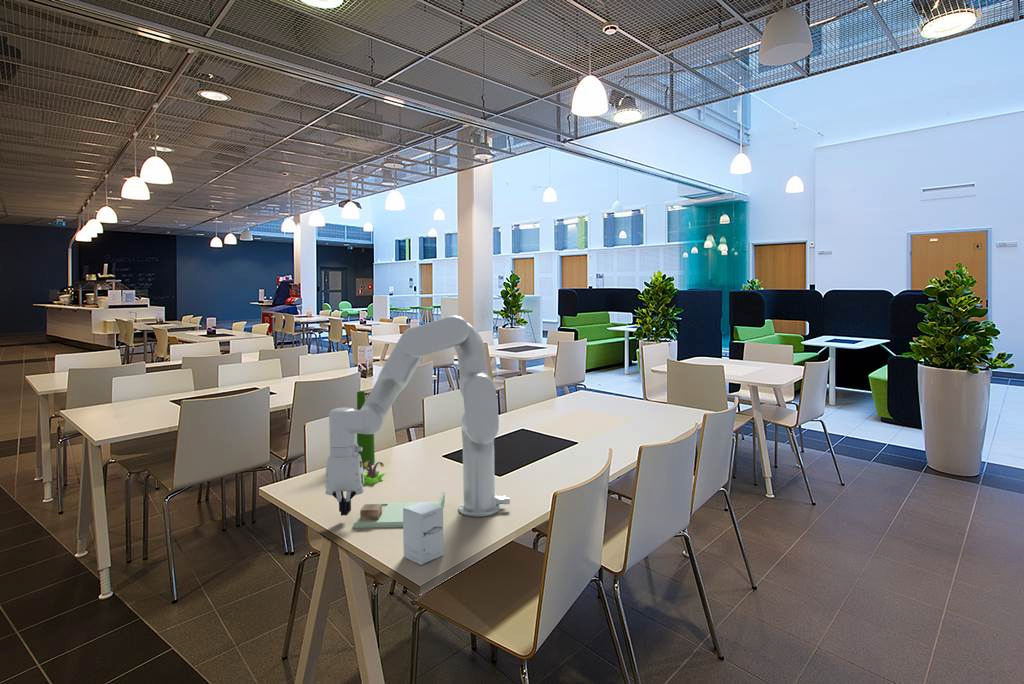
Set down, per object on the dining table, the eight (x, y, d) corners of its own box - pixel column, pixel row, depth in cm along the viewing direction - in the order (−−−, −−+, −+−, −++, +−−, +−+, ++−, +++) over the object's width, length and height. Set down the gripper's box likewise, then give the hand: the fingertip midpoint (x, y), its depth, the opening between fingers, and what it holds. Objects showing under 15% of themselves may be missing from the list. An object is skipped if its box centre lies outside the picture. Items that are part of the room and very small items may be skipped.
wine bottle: (377, 472, 208) (375, 390, 207) (371, 478, 199) (369, 393, 198) (354, 472, 208) (352, 390, 207) (348, 479, 199) (345, 393, 198)
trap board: (444, 509, 166) (444, 492, 166) (439, 529, 150) (439, 510, 150) (367, 511, 165) (367, 493, 165) (354, 531, 149) (353, 512, 149)
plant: (328, 496, 181) (327, 464, 180) (364, 480, 199) (364, 450, 199) (376, 503, 173) (375, 469, 173) (410, 486, 191) (409, 455, 191)
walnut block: (381, 513, 156) (381, 503, 156) (378, 520, 151) (377, 509, 151) (364, 514, 156) (364, 504, 155) (360, 520, 150) (360, 510, 150)
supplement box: (421, 566, 127) (420, 514, 127) (402, 557, 132) (401, 507, 132) (444, 555, 133) (443, 506, 132) (426, 547, 138) (425, 499, 137)
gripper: (372, 447, 156) (374, 508, 157) (321, 448, 156) (323, 510, 156) (366, 453, 149) (368, 518, 149) (312, 454, 148) (314, 519, 149)
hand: (345, 513), depth 153 cm, fingers closed
